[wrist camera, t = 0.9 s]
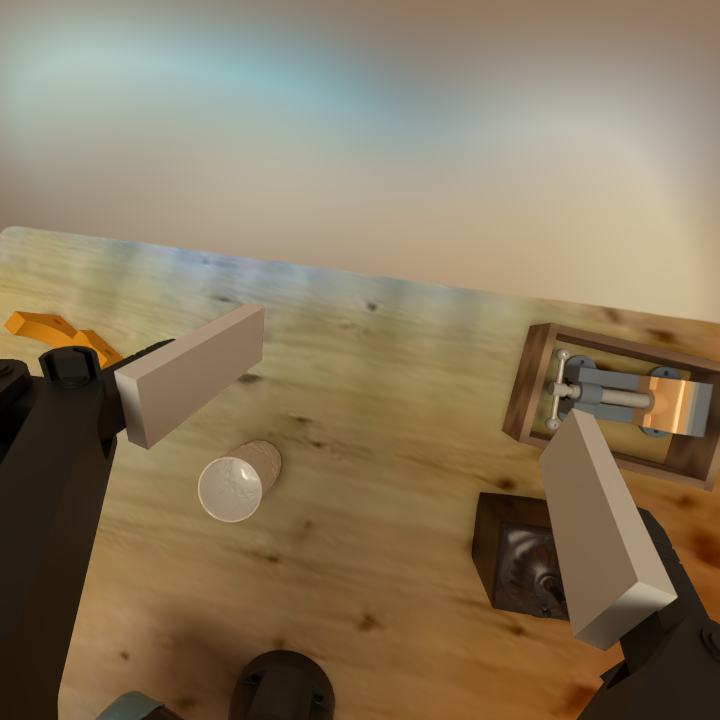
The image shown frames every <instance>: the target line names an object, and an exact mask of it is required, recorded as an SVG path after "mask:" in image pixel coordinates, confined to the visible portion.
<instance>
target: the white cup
mask: <svg viewBox="0 0 720 720" xmlns="http://www.w3.org/2000/svg"><path fill="white" fill-rule="evenodd" d="M281 466H282V462H281V456H280V453H279V452H278V451H277V449H276V448H275V446H274V445H272V444H270V443H268V442H266V441H261V440H254V441H252V442H250V443H247V444H245V445H242V446H240V447H238V448H236V449H234V450H232V451H230V452H228V453H227V454H225V455H223V456H221V457H220V458H218V459H216V460H214V461H212V462H211V463H210V464H208V465H207V466H206V467H205V469H204V470H203V472H202V473H201V475H200V478H199V482H198V495H199V499H200V502H201V504H202V506H203V507H204V509H205V510H206V511H207V512H208V513H209V514H210V515H211V516H213V517H214V518H216V519H218V520H220V521H224V522H239V521H242V520H244V519H246V518H248V517H249V516H251V515H252V514H253V513H254V512H255V511H256V509H257V508H258V506H259V505H260V503H261V502H262V500H263V499H264V498H265V496H266V495H267V493H268V492H269V490H270V488H271V487H272V485H273V484H274V482H275V479H276V478H277V477H278V475H279V474H280V470H281Z"/></svg>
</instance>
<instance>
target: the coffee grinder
mask: <svg viewBox="0 0 720 720" xmlns="http://www.w3.org/2000/svg"><path fill="white" fill-rule="evenodd" d="M472 559H473V563H474V564H475V566H476V569H477V571H478V574H479V576H480V579H481V581H482V583H483V586H484V588H485V591H486V593H487V595H488V598H489V600H490V602H491V605H492V607H493V608H495V609H500V610H505V611H510V612H516V613H522V614H528V615H532V616H535V617H539V618H553V619H560V620H566V621H569V622H570V618H569V612H568V607H567V602H566V597H565V592H564V587H563V581H562V576H561V571H560V566H559V561H558V556H557V551H556V545H555V540H554V535H553V530H552V525H551V520H550V514H549V509H548V504H547V501H545V500H542V499H536V498H529V497H522V496H514V495H504V494H493V493H482V492H480V497H479V501H478V506H477V514H476V522H475V530H474V538H473V546H472Z"/></svg>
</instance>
